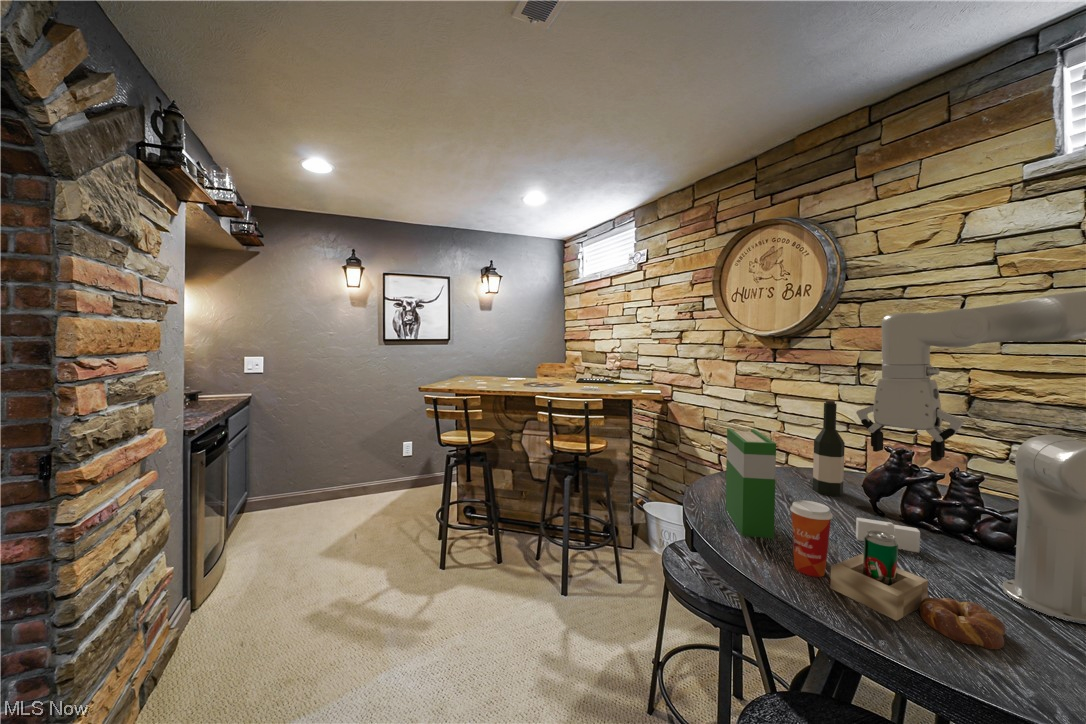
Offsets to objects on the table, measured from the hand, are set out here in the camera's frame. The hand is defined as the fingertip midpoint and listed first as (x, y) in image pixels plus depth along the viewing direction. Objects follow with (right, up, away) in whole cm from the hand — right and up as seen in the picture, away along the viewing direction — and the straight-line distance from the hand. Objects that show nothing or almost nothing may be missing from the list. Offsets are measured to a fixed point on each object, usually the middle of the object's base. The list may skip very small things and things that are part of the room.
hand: (905, 455), depth 87 cm
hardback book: (-20, -25, +27) cm, 41 cm away
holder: (-11, -26, -6) cm, 29 cm away
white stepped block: (+8, -26, +14) cm, 30 cm away
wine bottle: (+18, -23, +51) cm, 59 cm away
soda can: (-11, -26, -6) cm, 29 cm away
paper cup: (-18, -26, +3) cm, 31 cm away
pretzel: (-3, -27, -15) cm, 31 cm away
